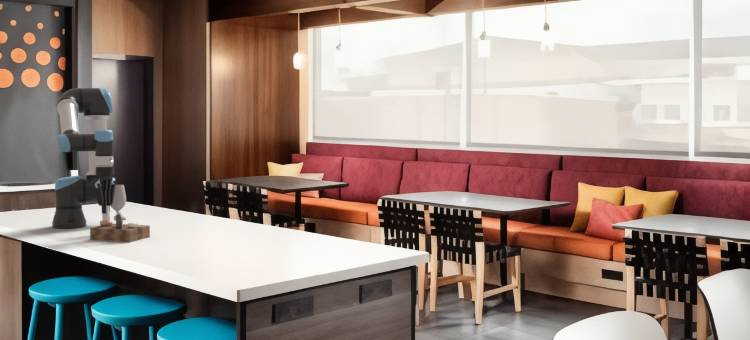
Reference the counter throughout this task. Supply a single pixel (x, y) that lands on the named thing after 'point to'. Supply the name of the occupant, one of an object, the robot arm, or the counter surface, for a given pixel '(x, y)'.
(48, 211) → the counter surface
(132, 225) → the knob
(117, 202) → the wineglass
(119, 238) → the brown wooden holder block
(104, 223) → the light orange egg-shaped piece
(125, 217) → the knob mid
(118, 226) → the gray rod
